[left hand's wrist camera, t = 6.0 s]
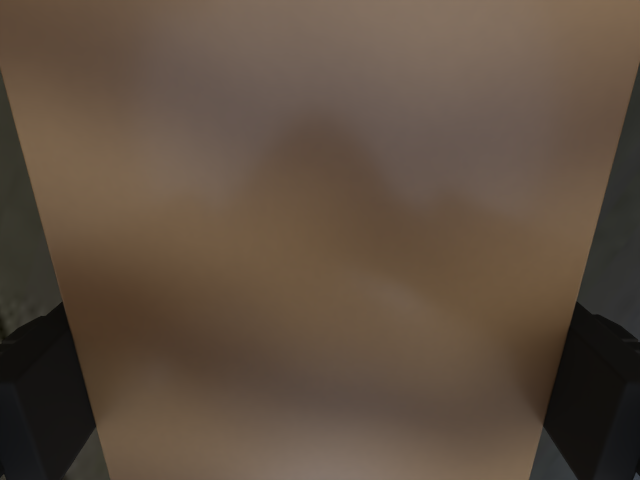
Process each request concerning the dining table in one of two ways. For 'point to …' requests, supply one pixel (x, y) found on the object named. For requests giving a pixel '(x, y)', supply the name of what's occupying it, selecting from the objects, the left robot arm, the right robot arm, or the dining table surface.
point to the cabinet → (319, 222)
